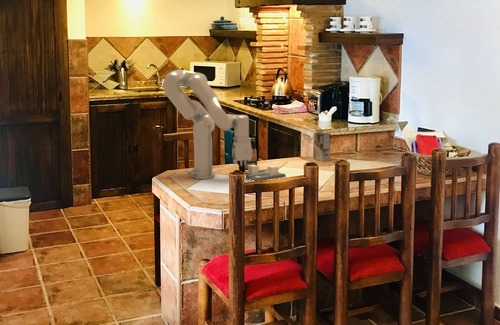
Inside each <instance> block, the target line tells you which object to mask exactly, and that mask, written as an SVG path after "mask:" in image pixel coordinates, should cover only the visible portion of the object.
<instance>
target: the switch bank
mask: <svg viewBox="0 0 500 325" xmlns="http://www.w3.org/2000/svg"><path fill="white" fill-rule="evenodd" d="M245 175H246V178H248V179H247V180H249V179H251V180H250V181H252V180H254V181H256V182H259V181H258V180H262V181H267V180H268V179H269V180H275V179H281V178H286V177H287V176H286V173H282V172H279V171H278V174H276V175H268V168H265V169H260V170H259V169H258V174H252V175H251V174H248V171H245ZM246 178H245V179H246ZM274 178H275V179H274ZM254 181H253V182H254Z"/></svg>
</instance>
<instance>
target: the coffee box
mask: <svg viewBox="0 0 500 325" xmlns="http://www.w3.org/2000/svg"><path fill="white" fill-rule="evenodd" d="M331 135H332V134H331V133H327V132H323V131H322V132H321V131H319V132H318V131H317V132H313V147H312V148H313V149H312V150H313V151H312V159H313V160H315V161H316V160H317V161H321V162H326V161H327V162H329V161H331V143H332V142H331V141H332V140H331V139H332V136H331Z"/></svg>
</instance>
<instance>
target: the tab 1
mask: <svg viewBox="0 0 500 325" xmlns="http://www.w3.org/2000/svg"><path fill="white" fill-rule="evenodd" d="M258 170H259V165H258V164H257V165H248V171H247V172H248V174H251V175H252V174H258Z"/></svg>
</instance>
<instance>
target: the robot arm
mask: <svg viewBox="0 0 500 325" xmlns="http://www.w3.org/2000/svg"><path fill="white" fill-rule="evenodd" d="M181 87H188V88H190V89H191V90H192V92H193V93H194V94H195V96H196V97H197V98H198V99H199V101H200V102H201V103H202V104H201V103H200V102H199V101H197V100H194V99H190V97H189V96H188V95H187V93H186V92H185V91H184V90H182V88H181ZM162 88H163V91H164V94H165V95H166V97H167V98H168V99H169V100H170V102H171V103H172V104H173V106H174V107H175V108H176V109H177V110H178V112H179V114H181V115H182V117H183V118H184V119H185V120H188V121H192V122H193V123H194V124H193V126H192V127H193V128H192V134H193V146H194V147H193V150H194V154H193V155H194V156H193V157H194V159H193V160H194V161H193V162H194V168H192V169H191V170H186V171H185V173H186V175H187V176H188V175H191V177H192V178H194V179H196V180H197V179H198V180H208V179H213V178H215V177H216V173H214V172H213V137H212V132H213V131H214V129H215V127H216V126H217V127H218V128H219V129H220V130H222V131H226V132H227V131H229V130H231V129H234V136H233V137H232V140H233V143H232V150H231V151H232V154H231V158H232V163H234V164H237V166H238V172H239V171H242V172H244V173H245V172H246V171H245V165H246V163H247V162H248V161H250V160H251V158H252V149H253V148H252V143H251V140H250V127H249V125H250V124H249V123H250V122H249V120H250V119H249V118H250V117H249V116H248V115H246V114H230V113H226V112H225V111H224V109H223V108H222V106H221V105H220V104H221V103H220V100H219V98H218V95H217V93H216V92H215V91H214V90H213V89H212V87H211V86H210V85H209V83H208V78H207V76H206V75H205V74H204V73H201V72H195V71H190V70H185V69H175V70H171V71H169V72H168V73H167V74H166V75H165V77H164V80H163V86H162Z"/></svg>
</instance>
